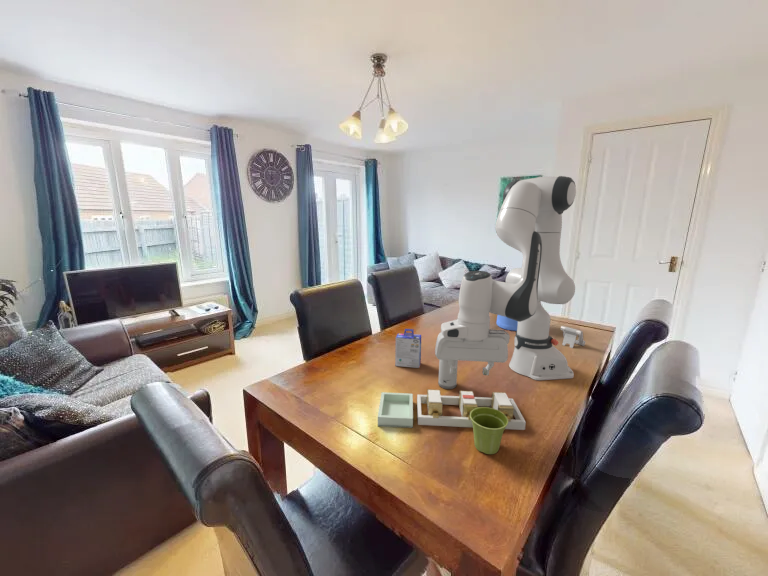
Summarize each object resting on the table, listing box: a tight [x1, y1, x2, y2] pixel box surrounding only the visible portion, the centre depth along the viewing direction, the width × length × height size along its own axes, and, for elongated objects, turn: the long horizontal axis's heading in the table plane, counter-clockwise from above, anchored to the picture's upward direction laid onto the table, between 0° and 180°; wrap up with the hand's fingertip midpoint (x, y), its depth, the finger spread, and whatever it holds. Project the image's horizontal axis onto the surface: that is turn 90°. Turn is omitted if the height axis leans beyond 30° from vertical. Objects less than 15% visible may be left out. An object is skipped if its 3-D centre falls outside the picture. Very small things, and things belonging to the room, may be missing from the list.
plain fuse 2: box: [490, 391, 514, 419], centre depth 97 cm, size 4×8×6 cm, turn 176°
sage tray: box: [377, 391, 414, 429], centre depth 99 cm, size 10×13×3 cm
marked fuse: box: [458, 390, 479, 417], centre depth 98 cm, size 4×8×6 cm, turn 175°
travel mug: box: [437, 359, 459, 390], centre depth 113 cm, size 6×7×20 cm
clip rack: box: [416, 394, 526, 431], centre depth 98 cm, size 30×12×3 cm, turn 86°
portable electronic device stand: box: [560, 325, 586, 349], centre depth 149 cm, size 9×8×8 cm
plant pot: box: [470, 406, 508, 455], centre depth 84 cm, size 9×9×9 cm
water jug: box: [495, 314, 518, 332], centre depth 171 cm, size 16×16×28 cm
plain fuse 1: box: [426, 388, 443, 416], centre depth 98 cm, size 4×8×6 cm, turn 175°
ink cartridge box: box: [394, 328, 422, 369], centre depth 129 cm, size 10×6×14 cm, turn 78°
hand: (469, 373), depth 95 cm, fingers open, 8 cm apart
